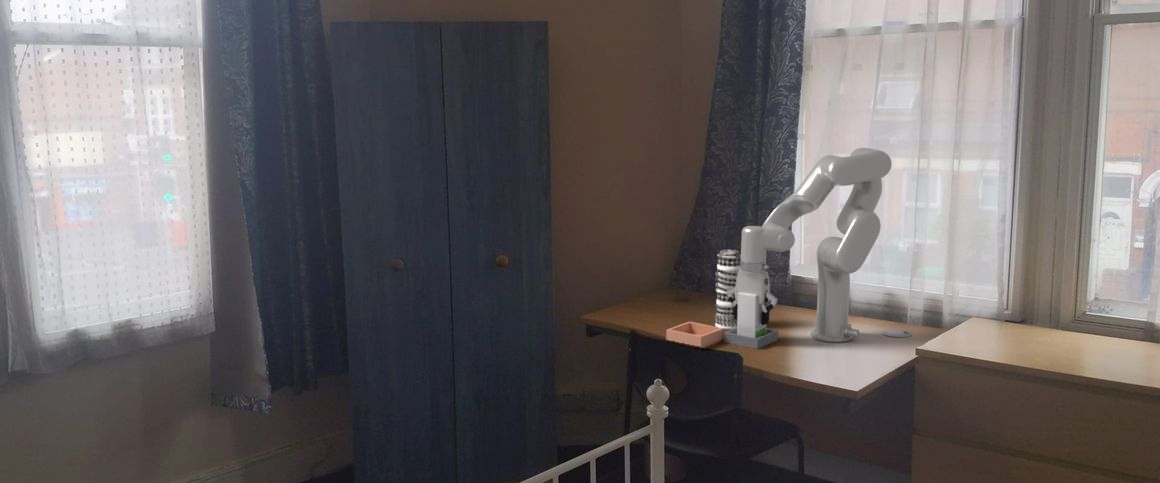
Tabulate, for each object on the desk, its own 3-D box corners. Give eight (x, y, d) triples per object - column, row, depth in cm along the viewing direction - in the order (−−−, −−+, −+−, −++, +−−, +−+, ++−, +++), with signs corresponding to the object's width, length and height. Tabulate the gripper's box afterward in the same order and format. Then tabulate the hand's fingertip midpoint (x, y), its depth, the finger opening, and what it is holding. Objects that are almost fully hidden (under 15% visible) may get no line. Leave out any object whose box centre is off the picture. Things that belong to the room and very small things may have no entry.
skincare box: (754, 346, 279) (756, 296, 277) (735, 342, 283) (736, 293, 281) (766, 339, 286) (768, 290, 283) (747, 336, 290) (748, 288, 287)
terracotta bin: (723, 340, 285) (723, 328, 284) (700, 349, 276) (701, 336, 275) (689, 333, 293) (689, 321, 293) (666, 342, 284) (666, 329, 283)
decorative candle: (741, 330, 297) (743, 253, 293) (712, 328, 299) (714, 252, 295) (743, 322, 306) (745, 248, 302) (715, 321, 308) (716, 247, 304)
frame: (777, 340, 286) (778, 330, 285) (757, 349, 276) (757, 339, 276) (745, 333, 293) (745, 324, 293) (723, 342, 284) (724, 332, 283)
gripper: (784, 269, 278) (781, 324, 281) (734, 261, 289) (732, 314, 292) (772, 272, 272) (769, 328, 275) (721, 264, 283) (720, 318, 286)
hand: (750, 321), depth 284 cm, fingers open, 9 cm apart
